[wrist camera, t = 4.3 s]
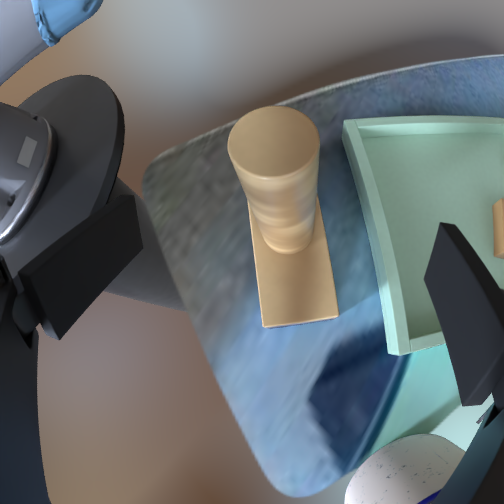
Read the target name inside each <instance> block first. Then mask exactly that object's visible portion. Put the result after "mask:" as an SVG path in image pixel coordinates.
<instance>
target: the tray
mask: <svg viewBox="0 0 504 504" xmlns="http://www.w3.org/2000/svg"><path fill="white" fill-rule="evenodd" d="M341 139H342V142H343V145H344V148H345V151H346V155H347V158H348V161H349V165H350V168H351V172H352V175H353V179H354V182H355V186H356V189H357V193H358V197H359V201H360V205H361V209H362V213H363V217H364V221H365V225H366V229H367V233H368V238H369V242H370V247H371V252H372V256H373V261H374V266H375V271H376V277H377V282H378V288H379V293H380V299H381V305H382V312H383V318H384V325H385V332H386V340H387V348H388V353H389V354H393V355H398V356H400V355H404V354H408V353H411V352H416V351H420V350H424V349H427V348H431V347H435V346H438V345H442V344H445V343H446V342H445V339H444V335H443V332H442V329H441V326H440V323H439V320H438V317H437V314H436V311H435V309H434V306H433V303H432V300H431V297H430V295H429V292H428V289H427V287H426V284H425V282H424V276H425V272H426V269H427V266H428V263H429V260H430V256H431V253H432V249H433V246H434V242H435V239H436V235H437V231H438V227H439V223H440V222H443V223H450V224H455V225H456V226H457V227H458V228H459V230H460V231H461V232H462V234H463V235H464V236H465V238H466V239H467V240H468V242H469V243H470V244H471V246H472V247H473V249H474V250H475V251H476V253H477V254H478V256H479V257H480V259H481V260H482V261H483V263H484V264H485V266H486V267H487V269H488V270H489V272H490V273H491V275H492V276H493V278H494V280H495V281H496V283H497V284H498V286H499V287H500V289H503V290H504V259H501V258H497V257H494V234H493V212H492V205H494V204H495V203H496V202H497V201H498V200H500V199H501V198H503V199H504V118H497V117H480V116H447V115H429V116H394V117H376V118H362V119H355V120H354V119H349V120H344V124H343V131H342V138H341Z"/></svg>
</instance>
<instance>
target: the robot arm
mask: <svg viewBox="0 0 504 504" xmlns="http://www.w3.org/2000/svg"><path fill="white" fill-rule="evenodd" d="M102 2H103V0H0V86H1V85H2V84H3V83H4V82H5V81H6V80H8V79H9V78H10V77H11V76H12V75H13V74H14V73H16V71H18V70H19V69H20V68H21V67H23V66H24V65H25V64H26V63H28V62H29V61H30V60H32V59H33V58H34V57H35V56H37V55H38V54H39V53H41V52H42V51H44V50H45V49H46V48H48V47H49V46H51V47H52V46H54V45H55V44H57V43H58V42H59V41H60V39H61V38H62V37H63V36H64V35H66V34H67V33H68V32H70V31H71V30H72V29H74V28H75V27H76V26H78V25H80V24H81V23H83V22H84V21H86V20H87V19H89V18H90V17H91V16H93V15H94V14H95V13H96V12H97V11H98V9H99V8H100V6H101V4H102ZM57 148H58V138H57V133H56V131H55V129H54V127H53V126H52V125H51V124H50V123H49V122H47V121H46V120H45V119H44V118H43V117H41V116H39V115H37V114H34V113H29V112H27V111H24V110H22V109H19V108H17V107H14V106H11V105H8V104H5V103H2V102H0V246H1V245H3V244H5V243H6V242H8V241H9V240H10V239H12V238H13V237H14V236H15V235H16V234H17V233H18V232H19V231H20V229H21V228H22V227H23V226H24V224H25V223H26V222H27V220H28V219H29V217H30V216H31V214H32V213H33V211H34V210H35V208H36V206H37V204H38V203H39V201H40V199H41V197H42V195H43V193H44V191H45V189H46V186H47V184H48V182H49V179H50V176H51V174H52V171H53V167H54V164H55V160H56V155H57ZM142 249H143V244H142V239H141V233H140V228H139V222H138V216H137V210H136V204H135V198H134V195H120V196H119V197H117V198H116V199H114V200H112V201H111V202H109V203H108V204H107V205H105V206H104V207H102V208H101V209H99V210H98V211H96V212H95V213H93V214H92V215H90V216H89V217H88V218H86V219H85V220H83V221H82V222H81V223H79V224H78V225H76V226H75V227H74V228H72V229H71V230H70V231H68V232H67V233H66V234H64V235H63V236H62V237H60V238H59V239H58V240H56V241H55V242H54V243H52V244H51V245H50V246H49V247H47V248H46V249H45V250H43V251H42V252H41V253H40V254H38V255H37V256H36V257H35V258H33V259H32V260H31V261H30V262H29V263H27V264H26V265H25V266H24V267H23V268H21V269H20V270H19V271H18V272H17V273H18V274H17V275H16V276H15V277H14V278H13V279H12V277H11V274H10V272H9V269H8V267H7V264H6V262H5V259H4V257H3V256H2V255H0V504H51V502H50V500H49V497H48V492H47V487H46V482H45V476H44V470H43V463H42V455H41V446H40V436H39V424H38V405H37V359H38V357H37V356H38V340H39V335H38V331H37V330H36V328H35V327H36V326H37V325H38V324H39V323H41V325H42V328H43V329H44V331H45V333H46V335H48V336H50V337H52V338H55V339H57V340H60V339H61V338H62V337H63V336H64V335H65V333H66V332H67V331H68V330H69V329H70V328H71V326H72V325H73V324H74V323H75V322H76V321H77V319H78V318H79V317H80V316H81V315H82V314H83V313H84V311H85V310H86V309H87V308H88V307H89V306H90V305H91V304H92V302H93V301H94V300H95V299H96V298H97V297H98V296H99V295H100V294H101V292H102V291H103V290H104V289H105V288H106V287H107V286H108V285H109V284H110V283H111V282H112V281H113V279H114V278H115V277H116V276H117V275H118V274H119V273H120V272H121V271H122V270H123V269H124V268H125V267H126V266H127V265H128V264H129V263H130V261H131V260H132V259H133V258H134V257H135V256H136V255H137V254H138V253H139V252H140V251H141V250H142ZM424 282H425V284H426V287H427V289H428V292H429V295H430V297H431V300H432V303H433V306H434V309H435V311H436V314H437V317H438V320H439V323H440V326H441V329H442V332H443V335H444V339H445V342H446V345H447V348H448V352H449V355H450V359H451V362H452V366H453V370H454V373H455V377H456V381H457V385H458V389H459V394H460V398H461V402H462V406H473V405H481V404H483V402H484V401H485V400H486V399H487V398H488V396H489V395H490V394H491V393H492V395H493V398H494V403H493V404H492V405H491V406H490V407H489V408H488V410H487V411H486V412H485V413H484V414H483V415H482V416H481V417H480V418H479V420H478V421H477V422H476V423H478V424H479V423H480V422H481V421H482V420H483V421H482V423H481V425H480V427H479V429H478V431H477V433H476V435H475V437H474V438H473V440H472V442H471V444H470V446H469V448H468V449H467V451H466V453H465V454H464V456H463V458H462V459H461V461H460V463H459V464H458V466H457V467H456V469H455V470H454V472H453V474H452V475H451V477H450V478H449V480H448V481H447V483H446V484H445V485H444V487H443V488H442V490H441V491H440V492H439V494H438V495H437V497H436V498H435V499H434V501H433V502H432V503H431V504H504V290H503V289H500V287H499V286H498V284H497V283H496V281H495V280H494V278H493V276H492V275H491V273H490V272H489V270H488V269H487V267H486V266H485V264H484V263H483V261H482V260H481V259H480V257H479V256H478V254H477V253H476V251H475V250H474V249H473V247H472V246H471V244H470V243H469V242H468V240H467V239H466V238H465V236H464V235H463V234H462V232H461V231H460V230H459V228H458V227H457V226H456V225H455V224H450V223H443V222H440V223H439V227H438V231H437V235H436V239H435V242H434V246H433V249H432V253H431V256H430V260H429V263H428V266H427V269H426V272H425V276H424Z"/></svg>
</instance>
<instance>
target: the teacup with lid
mask: <svg viewBox="0 0 504 504" xmlns="http://www.w3.org/2000/svg"><path fill="white" fill-rule="evenodd" d="M465 453H466V452H465V451H464V450H462V449H461V448H459V447H458V446H456V445H455V444H453V443H452V442H450V441H449V440H447V439H446V438H443V437H441V436H438V435H434V434H416V435H411V436H407V437H403V438H400V439H398V440H395V441H393V442H391V443H389V444H387V445H386V446H384V447H382V448H381V449H379V450H378V451H376V452H375V453H374V454H372V455H371V456H370V457H369V458H368V459H367V460H366V461H365V462H364V463H363V464H362V465H361V466H360V467H359V468H358V470H357V471H356V472H355V474H354V476H353V477H352V479H351V481H350V483H349V485H348V487H347V491H346V495H345V504H431V503H432V502H433V501H434V499H435V498H436V497H437V495H438V494H439V492H440V491H441V490H442V488H443V487H444V485H445V484H446V483H447V481H448V480H449V478H450V477H451V475H452V474H453V472H454V470H455V469H456V467H457V466H458V464H459V463H460V461H461V459H462V458H463V456H464V454H465Z"/></svg>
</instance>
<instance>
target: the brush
mask: <svg viewBox="0 0 504 504" xmlns="http://www.w3.org/2000/svg"><path fill="white" fill-rule="evenodd" d="M228 153H229V156H230V159H231V161H232V163H233V166H234V168H235V171H236V173H237V175H238V178H239V180H240V183H241V185H242V187H243V190H244V192H245V195H246V197H247V200H248V208H249V217H250V225H251V233H252V241H253V250H254V258H255V266H256V275H257V283H258V292H259V300H260V308H261V317H262V325H263V327H265V328H269V329H272V328H280V327H287V326H294V325H301V324H308V323H314V322H321V321H327V320H332V319H334V318H336V317H338V316H339V309H338V302H337V296H336V289H335V283H334V277H333V271H332V265H331V260H330V254H329V249H328V243H327V238H326V233H325V228H324V223H323V218H322V213H321V208H320V204H319V199H318V194H317V184H318V169H319V153H320V136H319V132H318V130H317V128H316V126H315V124H314V123H313V122H312V120H311V119H310V118H309V117H308V116H306V115H305V114H304V113H302V112H300V111H298V110H296V109H293V108H290V107H286V106H266V107H262V108H258V109H255V110H253V111H251V112H249V113H247V114H246V115H244V116H243V117H242V118H241V119H239V120H238V121H237V123H236V124H235V125H234V127H233V128H232V130H231V132H230V135H229V138H228Z"/></svg>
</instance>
